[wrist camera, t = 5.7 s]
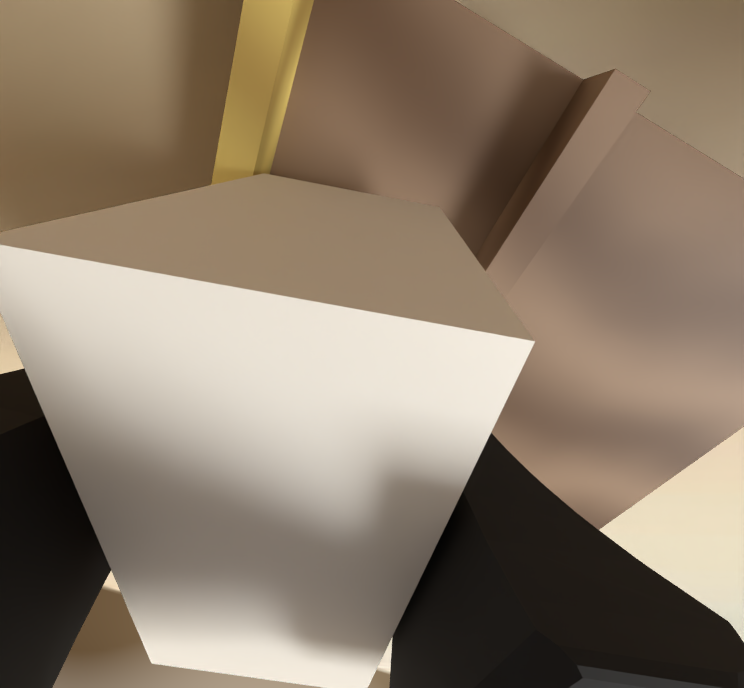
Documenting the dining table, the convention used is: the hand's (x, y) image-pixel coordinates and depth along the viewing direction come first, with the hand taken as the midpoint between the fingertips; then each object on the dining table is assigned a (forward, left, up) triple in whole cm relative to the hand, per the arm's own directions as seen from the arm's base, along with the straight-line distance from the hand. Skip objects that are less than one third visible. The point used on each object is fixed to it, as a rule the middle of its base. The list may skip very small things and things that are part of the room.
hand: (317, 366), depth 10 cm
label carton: (0, 0, -2) cm, 2 cm away
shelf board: (0, +6, -5) cm, 8 cm away
